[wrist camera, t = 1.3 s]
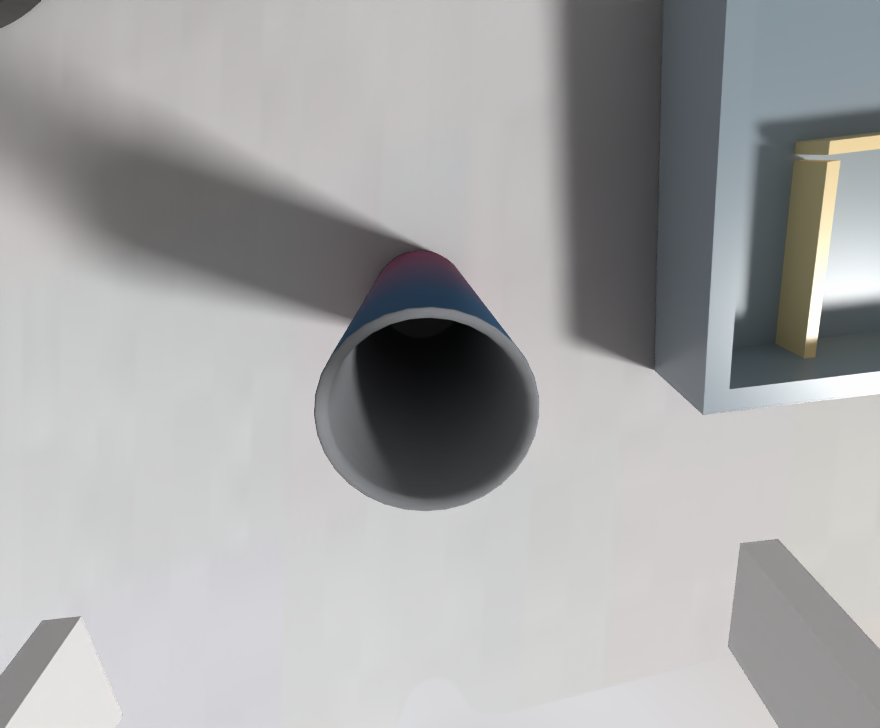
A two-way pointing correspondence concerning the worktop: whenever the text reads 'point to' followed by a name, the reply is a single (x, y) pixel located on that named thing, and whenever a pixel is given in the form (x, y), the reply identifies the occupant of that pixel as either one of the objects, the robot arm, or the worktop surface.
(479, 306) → the cup
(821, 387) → the walled box
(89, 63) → the worktop surface
